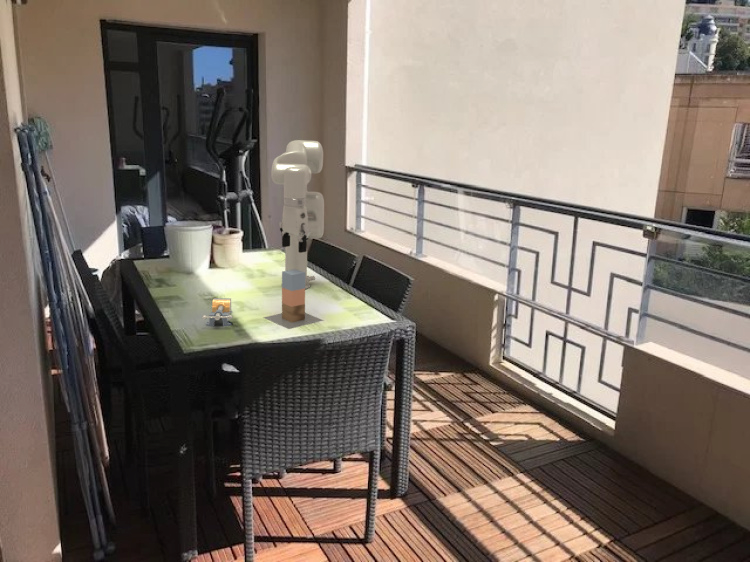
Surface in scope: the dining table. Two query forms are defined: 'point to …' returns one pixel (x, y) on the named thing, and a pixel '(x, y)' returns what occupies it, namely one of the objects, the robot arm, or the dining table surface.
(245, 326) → the dining table surface
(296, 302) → the salmon orange cube
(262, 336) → the dining table surface
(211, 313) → the vise
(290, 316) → the brown wooden cube
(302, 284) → the slate brick
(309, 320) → the plate
